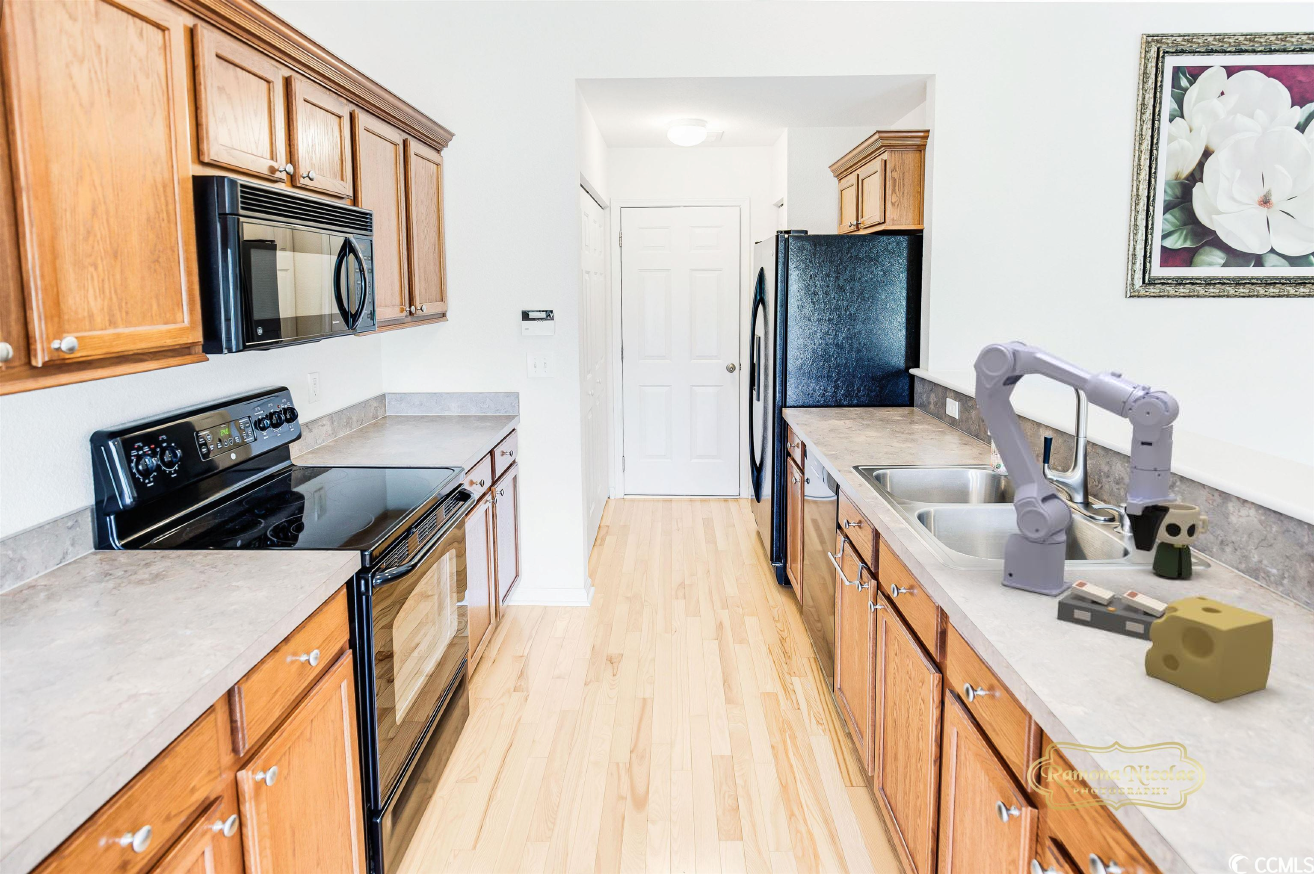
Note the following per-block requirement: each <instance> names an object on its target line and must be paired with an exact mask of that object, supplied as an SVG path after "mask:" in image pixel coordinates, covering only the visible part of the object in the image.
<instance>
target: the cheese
mask: <svg viewBox="0 0 1314 874" xmlns="http://www.w3.org/2000/svg"><path fill="white" fill-rule="evenodd" d="M1167 605H1168V606H1167V609H1166V612H1165V615H1164V616H1163V617H1162V618H1161V619H1159V620H1155V621H1154V622H1153V623H1152V625H1151V628H1150V639H1151V640H1152V641H1151V643H1152V645H1151V647H1149V648H1148V649H1147V651H1146V653H1145V656H1144V657H1145V658H1144V668H1145V673H1146V675H1148V676H1150V677H1154V678H1155V679H1159V680H1161V681H1163V682H1167V683H1169V684H1171V685H1173V686H1177V687H1178V688H1181V689H1183V690H1186V691H1188V692H1190V693H1191V694H1194V695H1197V696H1199V697H1201V698H1203V699H1205V700H1208V701H1210V702H1213V703H1215V702H1216V703H1221V702H1223V701H1226V700H1231V699H1234V698H1236V697H1241V696H1243V695H1246V694H1249V693H1251V692H1255V691H1259V690H1262V689H1266V687H1267V683H1268V679H1269V675H1270V670H1271V664H1272V655H1273V648H1274V647H1273V644H1274V643H1273V642H1274V624H1273V623H1274V622H1273V621H1274V620H1273V618H1272V617H1270V616H1266V615H1263V614H1261V613H1257V612H1254V611H1251V610H1248V609H1244V608H1241V607H1236V606H1233V605H1230V604H1226V603H1223V602H1220V601H1217V600H1215V599H1212V598H1209V597H1207V596H1203V595H1199V596H1193V597H1184V598H1182V599H1177V600H1174V601H1172V602H1170V603H1168V604H1167Z"/></svg>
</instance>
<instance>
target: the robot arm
mask: <svg viewBox="0 0 1314 874" xmlns="http://www.w3.org/2000/svg"><path fill="white" fill-rule="evenodd" d="M973 368H974V371H975V388H974V390H975V391H974V401H975V403H976V405H977V407H978V410H979V412H980V415H981V416H982V420H983V421H984V423H985V426H986V428H987V430H988V432H989V435H990V437H991V438H992V441H993V444H994V446H995V448H996V450H997V453H998V455H999V457H1000V460H1001V461H1002V464H1003V466H1004V468H1005V470H1006V473H1007V475H1008V478H1009V479H1010V482H1011V484H1012V486H1013V488H1014V498H1013V507H1014V508H1015V513H1016V525H1017V526H1016V528H1018V531H1019V533H1014V532H1013V533H1012V534H1010V535H1009V536H1008V538H1007V540H1006V543H1005V548H1004V558H1003V559H1004V560H1003V564H1004V565H1003V581H1001V585H1003V586H1006V587H1011V588H1015V589H1020V590H1024V591H1028V592H1034V593H1038V594H1043V595H1048V596H1052V597H1057V596H1058V595H1059V594H1061V593H1062V592H1065V590H1067V589H1069V588H1071V586H1072V585H1073V583H1072V582H1070V581H1066V580H1064V578H1065V566H1066V565H1065V563H1066V548H1067V547H1066V546H1067V536H1066V532H1065V530H1066V529H1067V528H1068V527H1069V526H1070V524H1071V523H1072V520H1073V511H1072V508H1071V506H1070V504H1069V503H1068V502H1067V501H1066V500H1065V499H1064V498H1063V497H1061V496H1060V494H1059V491H1058V490H1057V488H1056V487H1055V486H1054V485H1053V484H1051V483H1050V482H1049V481H1048V480H1047V479H1046V478H1045V476H1044V473H1043V471H1042V469H1041V467H1040V464H1039V462H1038V460H1037V458H1036V455H1035V453H1034V451H1033V449H1032V446H1031V445H1030V443H1029V440H1028V438H1027V436H1026V433H1025V431H1024V429H1023V426H1022V425H1021V423H1020V420H1019V417H1018V416H1017V413H1016V411H1015V409H1014V407H1013V404H1012V403H1011V400H1010V398H1011V396H1012V393H1013V391H1014V390H1015V387H1016V386H1017V384H1018V383H1019V382H1020V380H1021V379H1022V378H1023V377H1024V376H1025V375H1037V374H1038V375H1041V376H1044V377H1045V378H1049V379H1052V380H1054V381H1056V382H1059V383H1061V384H1064V385H1067V386H1070V387H1071V388H1074V389H1076V390H1079V391H1082V392H1083V394H1084V395H1085V398H1086V400H1087V402H1088V403H1089V404H1092V405H1094V406H1097V407H1099V408H1101V409H1103V410H1106V411H1108V412H1110V413H1113V414H1114V415H1115V416H1119V417H1121V418H1123V419H1128V420H1129V422H1130V425H1132V438H1131V442H1130V443H1131V444H1130V445H1131V447H1130V460H1129V474H1128V488H1127V489H1128V490H1127V491H1126V496H1125V497H1126V500H1127V501H1126V505H1125V506H1124V513H1125V515H1126V517H1127V519H1128V521H1129V524H1130V527H1131V530H1132V531H1131V532H1132V535H1133V536H1132V537H1133V542H1134V546H1135V550H1137V551H1141V552H1143V551H1144V552H1148V553H1149V552H1152V550H1153V549H1154V546H1155V543H1156V540H1157V539H1156V538H1157V534H1158V531H1159V528H1160V526H1161V524H1162V522H1163V520H1164V518H1165V516H1166V515H1167V514H1168V512H1169V510H1170V508H1169V507H1167V506H1161V505H1158V504H1162V503H1167V502H1168V503H1175V502H1178V497H1177V496H1172V495H1170V494H1169V492H1170V482H1171V481H1170V479H1171V469H1172V468H1171V467H1172V456H1173V455H1172V453H1173V442H1174V441H1173V434H1174V433H1173V431H1174V424H1172V423H1174V422H1175V420H1177V418H1178V416H1179V413H1180V405H1179V403H1178V401H1177V400H1176V398H1175V397H1173V395H1171V394H1169V393H1168V392H1167V391H1166V390H1155V391H1151V389H1152V386H1151V385H1148V384H1146V383H1145V384H1143V385H1141V384H1138V383H1136V382H1133V381H1131V380H1128V379H1126V378H1124V377H1122V376H1123V373H1122V372H1120V371H1118V370H1112V371H1111V372H1110V371H1108V370H1105V371H1100V372H1098V373H1095V374H1094V373H1092V372H1091V371H1088V370H1086V369H1084V368H1082V367H1080V366H1078V365H1075V363H1072V362H1069V361H1068V360H1066V359H1064V358H1061V357H1059V356H1057V355H1055V354H1053V353H1051V352H1049V351H1046V350H1045V349H1042V348H1040V347H1038V346H1035V345H1030V344H1029V345H1028V344H1026V343H1025V342H1023V341H1020V340H1014V341H1013V340H1012V341H1009V342H1003V343H998V342H997V343H990V344H987V345H986V346H985V347H983V348H982V349H981V350H980V353H979V354H978V356H977V358H976V360H975V362H974V363H973Z"/></svg>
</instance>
